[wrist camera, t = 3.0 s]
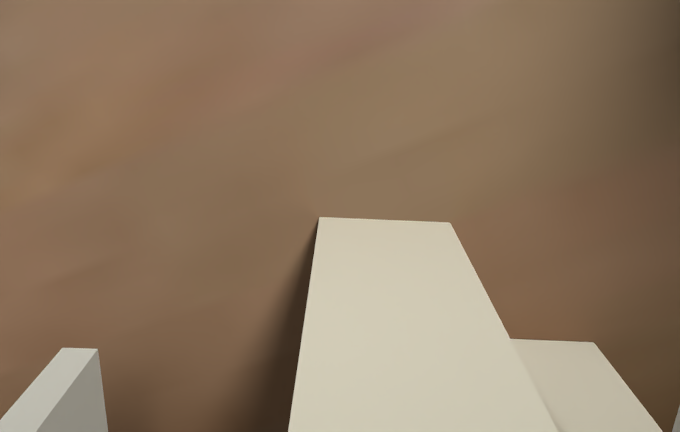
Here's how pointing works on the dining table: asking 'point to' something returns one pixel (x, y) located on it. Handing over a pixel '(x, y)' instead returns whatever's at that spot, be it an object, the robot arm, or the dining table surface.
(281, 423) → the dining table surface
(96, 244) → the dining table surface
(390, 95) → the dining table surface
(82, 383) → the robot arm
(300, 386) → the domino
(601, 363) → the domino
